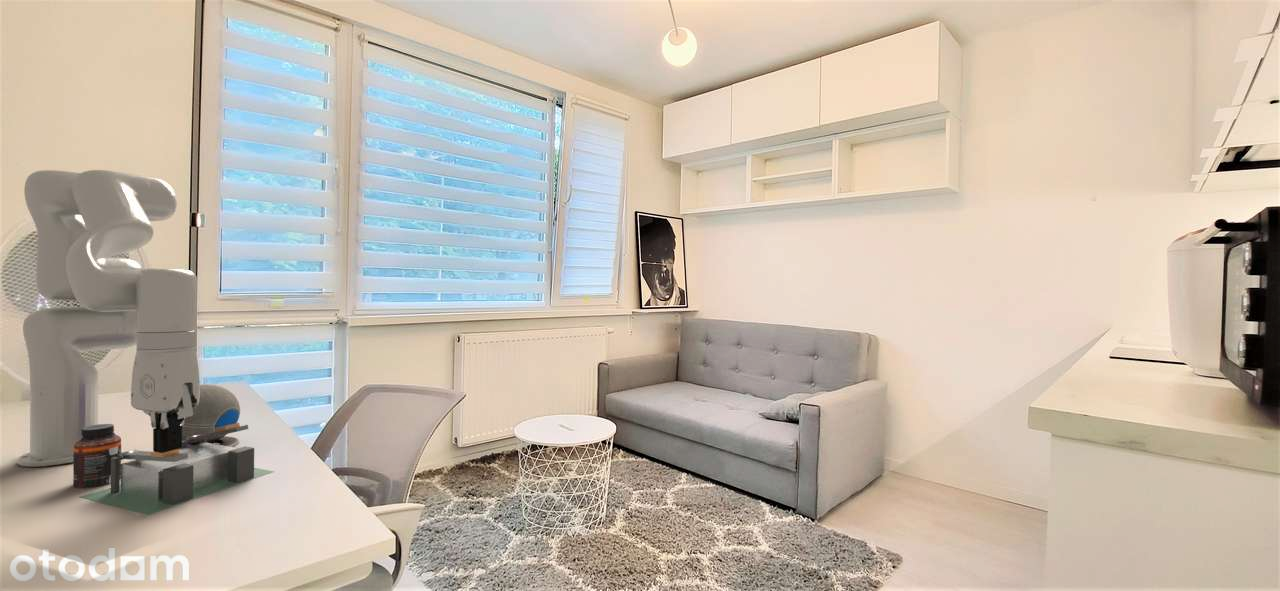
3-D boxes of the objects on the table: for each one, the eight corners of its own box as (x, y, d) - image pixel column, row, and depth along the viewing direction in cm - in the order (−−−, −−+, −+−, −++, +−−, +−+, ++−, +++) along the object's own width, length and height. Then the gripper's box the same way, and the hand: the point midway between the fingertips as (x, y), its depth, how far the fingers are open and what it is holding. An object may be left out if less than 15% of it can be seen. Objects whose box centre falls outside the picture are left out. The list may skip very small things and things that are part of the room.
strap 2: (184, 444, 98) (183, 435, 98) (198, 440, 100) (197, 432, 100) (236, 433, 94) (234, 423, 94) (249, 429, 96) (248, 420, 96)
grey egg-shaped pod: (200, 442, 119) (201, 378, 119) (254, 444, 118) (255, 380, 118) (145, 461, 106) (145, 390, 106) (204, 464, 106) (205, 392, 105)
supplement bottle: (127, 485, 94) (128, 424, 93) (81, 497, 88) (82, 432, 88) (112, 479, 96) (112, 420, 96) (67, 491, 91) (67, 428, 91)
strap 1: (117, 460, 89) (116, 450, 89) (134, 455, 91) (134, 446, 91) (172, 463, 84) (172, 453, 84) (189, 459, 86) (188, 449, 86)
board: (78, 503, 86) (79, 461, 86) (211, 465, 105) (211, 430, 105) (147, 521, 80) (148, 476, 80) (274, 477, 99) (274, 440, 99)
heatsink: (120, 492, 88) (120, 463, 88) (205, 467, 100) (205, 442, 100) (158, 501, 85) (158, 471, 85) (240, 474, 97) (241, 448, 97)
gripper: (111, 342, 85) (111, 452, 85) (170, 346, 80) (170, 462, 80) (165, 338, 92) (165, 439, 92) (222, 341, 87) (222, 448, 87)
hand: (167, 449), depth 86 cm, fingers closed
